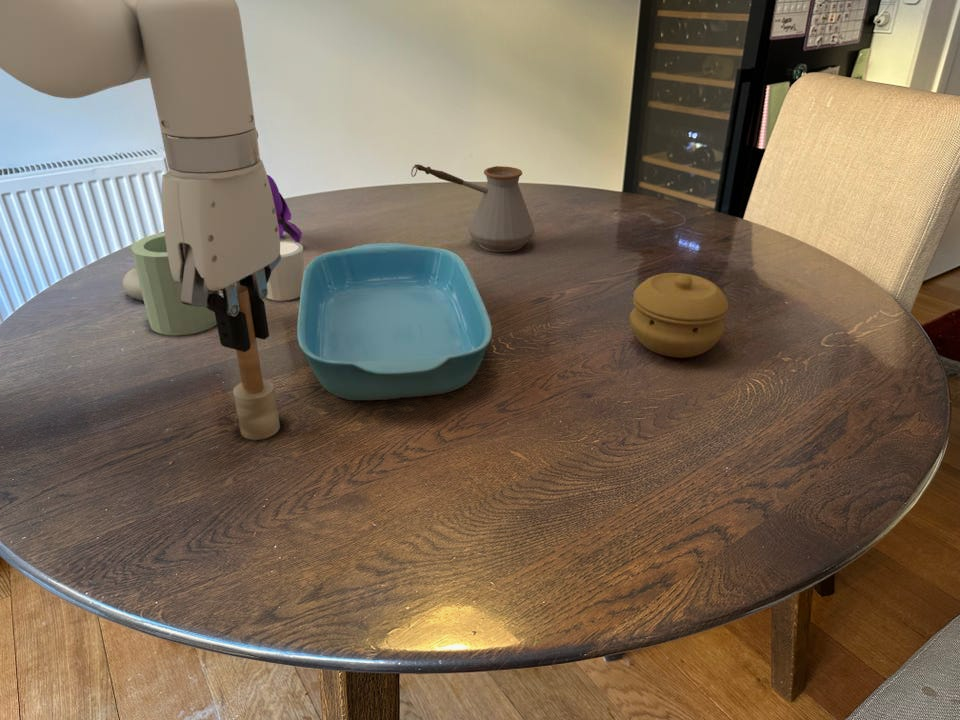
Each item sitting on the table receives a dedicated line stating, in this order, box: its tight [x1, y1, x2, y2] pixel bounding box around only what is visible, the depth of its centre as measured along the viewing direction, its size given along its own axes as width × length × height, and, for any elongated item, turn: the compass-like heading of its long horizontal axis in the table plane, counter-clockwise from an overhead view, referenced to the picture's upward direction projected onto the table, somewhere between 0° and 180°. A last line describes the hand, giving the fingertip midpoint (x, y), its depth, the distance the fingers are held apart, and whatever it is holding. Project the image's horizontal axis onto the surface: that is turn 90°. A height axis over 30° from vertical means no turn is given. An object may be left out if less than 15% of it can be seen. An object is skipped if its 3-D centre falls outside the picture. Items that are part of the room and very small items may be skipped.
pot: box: [629, 272, 729, 359], centre depth 89 cm, size 12×12×10 cm
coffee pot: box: [410, 164, 535, 253], centre depth 118 cm, size 21×12×15 cm, turn 109°
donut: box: [121, 266, 144, 302], centre depth 103 cm, size 10×4×10 cm
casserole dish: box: [296, 242, 493, 402], centre depth 89 cm, size 37×22×7 cm, turn 10°
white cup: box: [266, 240, 305, 302], centre depth 102 cm, size 7×7×7 cm
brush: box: [232, 285, 281, 441], centre depth 70 cm, size 4×4×16 cm
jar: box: [130, 231, 221, 336], centre depth 93 cm, size 9×9×11 cm
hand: (245, 340), depth 69 cm, fingers closed on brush, 2 cm apart
